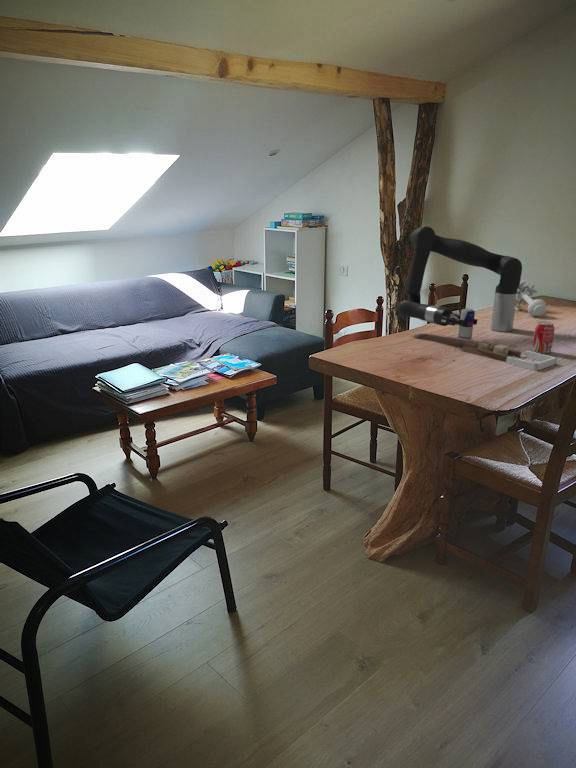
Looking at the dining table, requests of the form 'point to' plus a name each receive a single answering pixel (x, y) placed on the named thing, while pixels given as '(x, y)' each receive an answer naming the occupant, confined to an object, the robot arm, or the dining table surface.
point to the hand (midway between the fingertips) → (472, 323)
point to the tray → (544, 363)
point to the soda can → (543, 337)
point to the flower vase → (530, 300)
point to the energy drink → (466, 332)
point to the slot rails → (489, 353)
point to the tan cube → (485, 345)
